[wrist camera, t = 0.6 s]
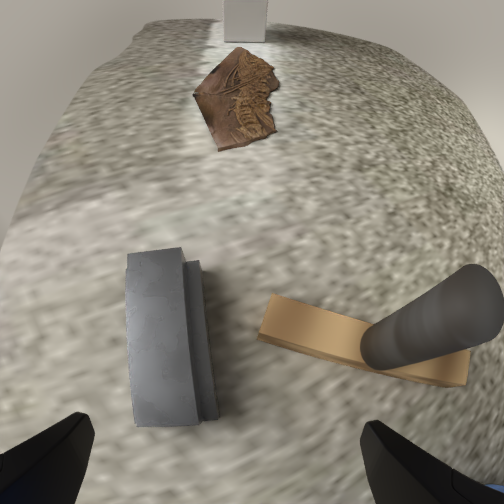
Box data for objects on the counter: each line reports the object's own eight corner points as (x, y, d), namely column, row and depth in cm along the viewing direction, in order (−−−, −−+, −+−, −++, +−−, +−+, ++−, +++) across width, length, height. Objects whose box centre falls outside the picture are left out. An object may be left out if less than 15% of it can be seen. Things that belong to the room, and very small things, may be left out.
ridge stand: (219, 417, 20) (215, 423, 16) (142, 421, 20) (122, 426, 16) (201, 270, 25) (195, 245, 21) (133, 277, 25) (115, 255, 21)
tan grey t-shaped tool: (451, 353, 23) (567, 307, 10) (445, 391, 21) (568, 365, 9) (269, 301, 25) (301, 199, 12) (255, 343, 23) (275, 280, 11)
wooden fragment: (274, 157, 32) (275, 151, 31) (173, 151, 32) (171, 144, 31) (279, 52, 43) (280, 46, 42) (214, 48, 43) (213, 43, 42)
